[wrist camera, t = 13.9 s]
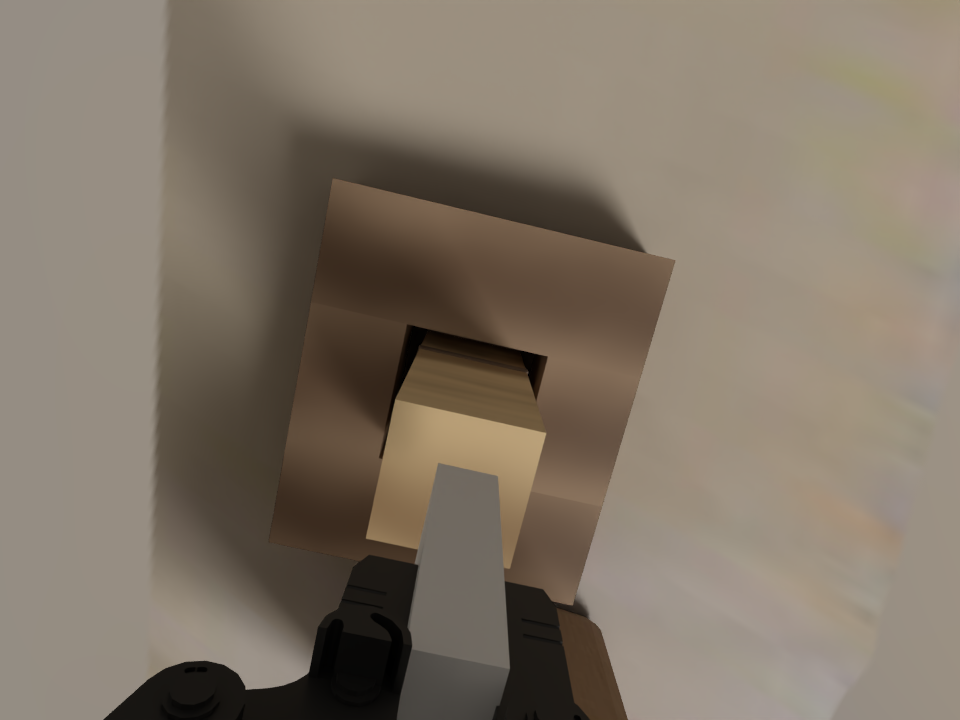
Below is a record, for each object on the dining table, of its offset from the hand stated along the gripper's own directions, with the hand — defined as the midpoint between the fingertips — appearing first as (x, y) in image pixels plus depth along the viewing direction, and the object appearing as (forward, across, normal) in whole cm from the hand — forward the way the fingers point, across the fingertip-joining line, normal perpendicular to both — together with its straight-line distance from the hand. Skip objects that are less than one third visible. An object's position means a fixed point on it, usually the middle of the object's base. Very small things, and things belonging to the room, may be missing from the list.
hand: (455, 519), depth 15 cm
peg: (+15, 0, -1) cm, 15 cm away
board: (+15, 0, -1) cm, 15 cm away
